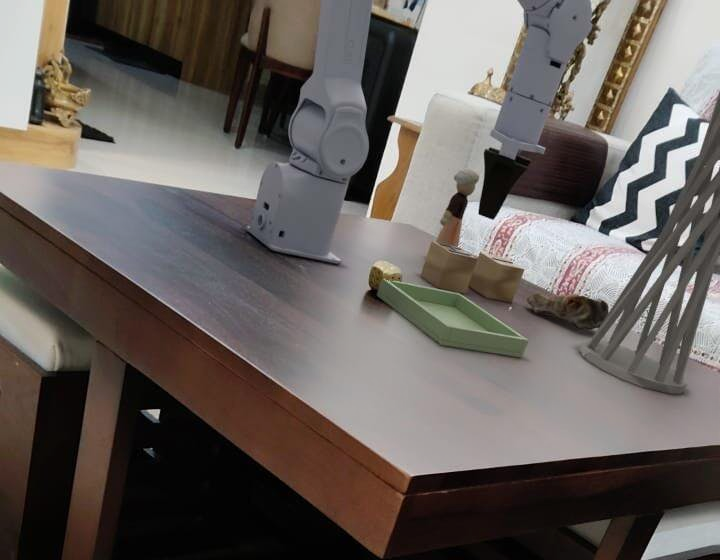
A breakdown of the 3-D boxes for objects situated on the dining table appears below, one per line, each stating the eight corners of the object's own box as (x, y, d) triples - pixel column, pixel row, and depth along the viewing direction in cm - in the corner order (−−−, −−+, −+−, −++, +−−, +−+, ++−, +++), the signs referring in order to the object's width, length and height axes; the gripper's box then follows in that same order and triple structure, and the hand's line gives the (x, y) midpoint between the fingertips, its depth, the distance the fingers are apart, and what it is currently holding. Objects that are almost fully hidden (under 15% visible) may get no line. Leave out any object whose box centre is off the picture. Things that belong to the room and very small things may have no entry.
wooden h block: (437, 288, 125) (450, 251, 123) (420, 275, 128) (431, 239, 126) (465, 293, 128) (478, 258, 125) (447, 281, 131) (459, 246, 128)
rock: (607, 335, 134) (552, 292, 137) (628, 298, 130) (571, 255, 133) (572, 352, 129) (516, 307, 132) (593, 314, 125) (534, 269, 127)
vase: (571, 337, 125) (703, 27, 107) (667, 369, 127) (813, 70, 109) (590, 369, 114) (741, 28, 96) (695, 404, 116) (863, 76, 98)
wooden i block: (486, 297, 130) (499, 262, 127) (467, 285, 133) (480, 251, 130) (512, 302, 132) (525, 268, 130) (493, 290, 135) (506, 257, 133)
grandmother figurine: (449, 270, 138) (482, 174, 131) (423, 260, 138) (455, 164, 131) (455, 262, 144) (487, 170, 138) (430, 252, 144) (461, 161, 138)
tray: (441, 345, 102) (447, 326, 101) (376, 295, 112) (381, 277, 111) (521, 357, 108) (529, 340, 107) (454, 309, 118) (459, 293, 117)
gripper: (559, 111, 114) (514, 231, 121) (560, 108, 126) (519, 218, 133) (502, 89, 114) (460, 211, 121) (508, 89, 126) (470, 199, 133)
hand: (488, 213), depth 127 cm, fingers open, 7 cm apart
